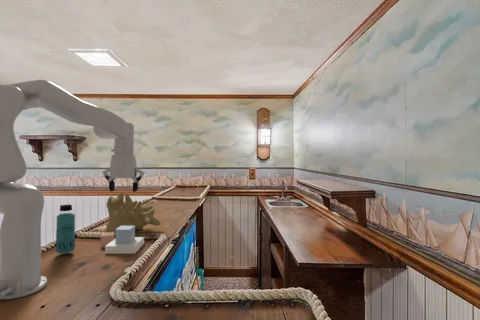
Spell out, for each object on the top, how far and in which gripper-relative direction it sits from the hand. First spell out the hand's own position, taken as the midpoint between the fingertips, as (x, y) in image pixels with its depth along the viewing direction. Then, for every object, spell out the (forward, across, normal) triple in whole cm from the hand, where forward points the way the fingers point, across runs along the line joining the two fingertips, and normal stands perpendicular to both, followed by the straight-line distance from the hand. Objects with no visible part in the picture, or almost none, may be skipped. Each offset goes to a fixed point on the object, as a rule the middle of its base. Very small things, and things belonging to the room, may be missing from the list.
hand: (123, 191), depth 115 cm
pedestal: (+25, +1, 0) cm, 25 cm away
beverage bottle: (+25, -20, -8) cm, 33 cm away
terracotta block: (+25, -8, +4) cm, 26 cm away
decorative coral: (+25, -5, +24) cm, 35 cm away
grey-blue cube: (+22, +1, 0) cm, 22 cm away
